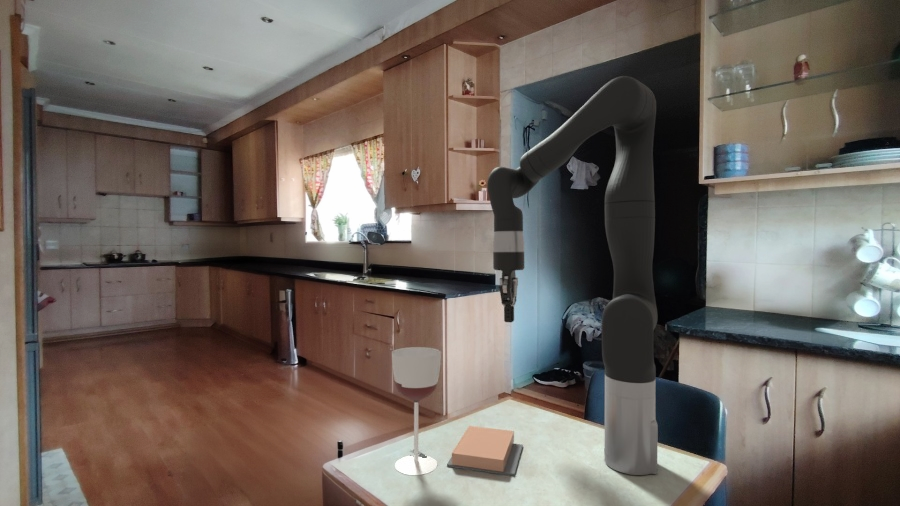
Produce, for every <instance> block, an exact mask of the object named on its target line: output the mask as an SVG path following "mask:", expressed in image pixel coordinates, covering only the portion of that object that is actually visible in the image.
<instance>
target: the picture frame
mask: <svg viewBox="0 0 900 506" xmlns="http://www.w3.org/2000/svg"><path fill="white" fill-rule="evenodd" d="M514 442H515V431H514V430H510V429H509V430H507V429H500V428H491V427H482V426H474V425H469V426H468V427H467V429H466V430H465V432H464V433H463V435H462V436H461V438H460V440H459V441H458V443H457V444H456V445H455V448H454V449H453V450H452V452H451V457H452V465H459V466H466V467H473V468H479V469H486V470H493V471H500V472H503V471H504V468H505V466H506V463H507V460H508V457H509V454H510V451H511V448H512V445H513V443H514ZM514 444H515V443H514Z"/></svg>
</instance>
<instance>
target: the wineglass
mask: <svg viewBox="0 0 900 506" xmlns="http://www.w3.org/2000/svg"><path fill="white" fill-rule="evenodd" d="M441 362H442V351H441V350H440V349H438V348H433V347H424V346H413V347H412V346H411V347H410V346H407V347H402V348H397V349H394V350H392V351H391V363H392V364H391V366H392V374H393V379H394V384H395V387H396V390H397V392H398V393H399V394H400V395H401V396H403V397H405V398H406V399H408V400H411V402H413V403H414V404H413V455H414V457H413V456H410V455H406V456H403V457H401V458H400V457H399V459H398V460H396V462H395V463H394V468H395V469H396V471H398V472H399V473H401V474H404V475H410V476H420V475H425V474H426V475H427V474H429V473H431V472H433V471H435V470H436V469H437V466H438V461H437V460H436V459H435V458H433V457H431V456H429V455H426V456H427V458H422V457H418V455H419V402H420V401H423V400H424V399H427V398H428V397H429V396H431V395H432V394H433V393H434V392H435V390H436V389H437V386H438V381H439V376H440V372H441V371H440V369H441Z"/></svg>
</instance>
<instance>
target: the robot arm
mask: <svg viewBox="0 0 900 506" xmlns="http://www.w3.org/2000/svg"><path fill="white" fill-rule="evenodd" d="M656 117H657V100H656V97H655V94H654V93H653V91H652V90H651V89H650V87H648V86H647V85H645V84H644V83H642V82H640V80H637V79H636V78H634V77H631V76H628V75H621V76H617V77H614V78H613V79H611V80H609V81H608V82H607V83H605V84H604V85H603V86H602V87H600V89H598V91H597V92H595V93H594V94H593V95H592V96H591V97H590V98H589V99H588V100H587V101H586V102H585V103H584V104H583V105H582V106H581V107H580V108H579V109H578V110H577V111H576V112H574V114H573V115H572V116H571V117H570V118H568V119H567V120H566V121H565V122H564V123H563V124H562V125H561V126H560V127H558V128H557V129H556V130H555V131H554V132H553V133H551V134H550V135H548V137H546V138H545V139H542V141H540V142H539V143H537V144H536V145H535V146H532V148H531V149H529V150H528V151H527V152H524V154H523V155H522V156H521V157H520V158H519V159H520V160H519V167H517V168H515V169H514V168H510V167H505V166H498V167H494V169H492V171H491V172H490V173H489V176H488V178H487V184H486V185H487V186H486V189H487V192H488V194H487V195H488V198H489V201H490V206H491V210H492V213H493V238H492V239H493V241H492V255H493V256H492V257H493V258H492V264H493V265H492V266H493V267H492V268H493V270H494V271H501V272H502V273H501V277H500V278H499V286H498V287H499V293H500V299H501V305H503V310H504V311H503V321H504V322H505V323H513V322H514V321H515V306H516V303H517V295H518V286H519V278H518V277H516V275H517V274H516V271H523V270H524V269H525V239H524V215H523V210H522V209H521V208H519V207H517V206H516V205H515V202H514V199H518V198H521V197H523V196H525V195H526V194H528V193H529V192H530V191H531V190H532V189H533V188H535V186H537V184H538V183H539V182H540V180H542V179H543V178H545V177H546V176H548V175H550V174H551V173H552V172H554V171H556V170H558V168H561V166H563V165H564V164H566V162H568V160H569V159H570V158H571V157H572V156H573V155H574V153H575V152H576V151H577V150H578V148H579V147H581V145H582V144H583V143H585V141H587V140H588V139H589V138H591V137H592V136H594V135H596V134H598V133H599V132H601V131H603V130H605V129H607V128H609V127H613V128H614V136H615V149H616V150H615V161H614V166H613V168H612V172H611V174H610V177H609V179H608V182H607V186H606V189H605V194H604V227H605V228H604V229H605V234H606V239H607V240H606V241H607V244H608V250H609V253H610V257H611V260H612V266H613V291H612V292H613V293H612V299H611V300H610V301H609V302H608V303H606V305H605V306H604V309H603V312H602V315H601V356H602V362H603V366H604V448H603V449H604V450H603V452H604V456H603V457H604V462H605V464H606V465H607V466H608V467H609V468H611V469H612V470H614V471H617V472H620V473H622V474H626V475H631V476H645V475H649V474H653V475H657V474H658V439H659V438H658V436H659V435H658V433H659V432H658V431H659V430H658V429H659V428H658V422H657V419H656V379H657V378H656V375H657V373H656V371H657V368H656V364H655V358H654V330H655V329H656V327H657V323H658V307H657V302H656V296H655V289H654V279H653V259H654V252H655V251H654V250H655V249H654V248H655V232H656V231H655V229H656V228H655V227H656V218H655V217H656V209H655V208H656V206H655V205H656V201H655V200H656V199H655V179H654V175H655V174H654V154H653V152H654V149H653V148H654V137H655V125H656Z"/></svg>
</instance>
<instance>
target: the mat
mask: <svg viewBox="0 0 900 506" xmlns="http://www.w3.org/2000/svg"><path fill="white" fill-rule="evenodd" d="M523 447H524V444H520V443H513V445H512V448H511V451H510V454H509V457H508V460H507V463H506V466H505V468H504V471H503V472H500V471H493V470H486V469H479V468H473V467H466V466H459V465H452V456H451V457H450V458H449V461H447V464H446V466H447V467H448V468H449V467H450V468H456V469H462V470H463V469H464V470H469V471H470V470H471V471H477V472H484V473H491V474H497V475H505V476H510V477H511V476H513V477H515V474H516V471H517V467H518V463H519V461H520V458H521V454H522V450H523Z"/></svg>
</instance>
